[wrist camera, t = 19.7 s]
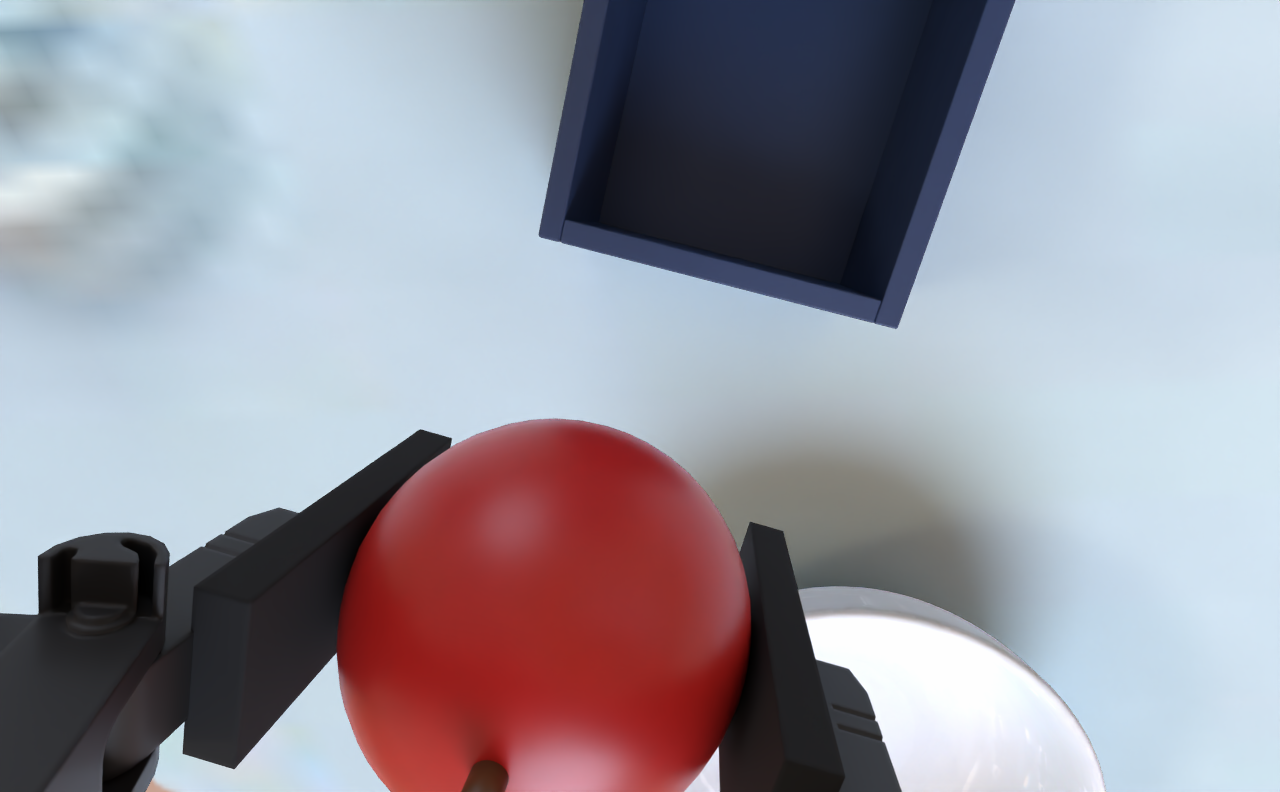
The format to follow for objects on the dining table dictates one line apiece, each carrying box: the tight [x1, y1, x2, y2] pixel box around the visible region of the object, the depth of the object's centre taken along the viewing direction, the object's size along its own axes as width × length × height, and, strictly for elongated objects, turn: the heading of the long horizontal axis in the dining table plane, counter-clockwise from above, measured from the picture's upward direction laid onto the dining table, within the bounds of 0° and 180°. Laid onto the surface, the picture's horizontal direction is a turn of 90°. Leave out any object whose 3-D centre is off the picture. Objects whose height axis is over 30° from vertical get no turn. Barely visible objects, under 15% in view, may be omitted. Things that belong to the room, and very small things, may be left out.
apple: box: [336, 419, 751, 792], centre depth 11 cm, size 7×7×8 cm
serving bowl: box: [684, 586, 1106, 792], centre depth 31 cm, size 21×21×7 cm
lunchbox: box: [539, 0, 1015, 329], centre depth 23 cm, size 18×13×8 cm
